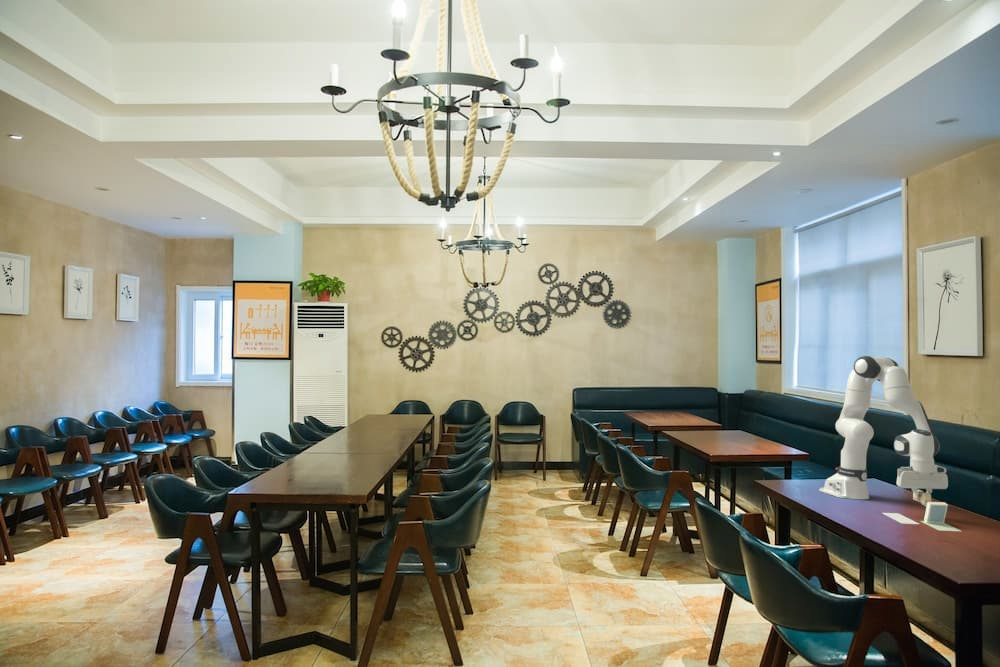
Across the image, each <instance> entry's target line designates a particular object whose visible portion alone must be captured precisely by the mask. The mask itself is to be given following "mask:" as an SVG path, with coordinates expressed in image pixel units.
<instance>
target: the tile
mask: <svg viewBox="0 0 1000 667" xmlns="http://www.w3.org/2000/svg"><path fill="white" fill-rule="evenodd" d="M948 506H949V504H947V503H946V502H944V501H943V502H938V501H931V502H927V507H926V506H925V507H926V508H925V514H924V518H923V521H925V522H926V523H934V524H944V523H945V521H946V515H947V512H948Z"/></svg>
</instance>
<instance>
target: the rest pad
mask: <svg viewBox="0 0 1000 667" xmlns="http://www.w3.org/2000/svg"><path fill="white" fill-rule="evenodd" d="M882 514H883V515H885V516H886V517H888V518H890V519H892V520H894V521H896V522H898V523H900V524H901V525H920V524H921V523H919V522H916V521H915V520H913V519H911V518H909V517H907V516H904V515H902V514H901V513H897V512H895V513H894V512H882Z"/></svg>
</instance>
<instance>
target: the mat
mask: <svg viewBox="0 0 1000 667" xmlns="http://www.w3.org/2000/svg"><path fill="white" fill-rule="evenodd" d="M920 522H921V523H923V524H925V525H927V526H929V527H931V528H933V529H935V530H937V531H942V532H943V531H944V532H947V531H948V532H961V530H960V529H958V528H956V527H954V526H952V525H950V524H947V523H945V522H944V524H934V523H926V522H925V521H924V520H920Z"/></svg>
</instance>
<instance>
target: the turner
mask: <svg viewBox="0 0 1000 667" xmlns="http://www.w3.org/2000/svg"><path fill="white" fill-rule="evenodd" d="M926 492H927V491H926ZM926 492H925V491H923V490H921V489H918V491H917V493H918V494H919V495H920V499H917V498H915V497H914V493H913V492H912V500H914V501H916V502H918V503H920V504H921V505H922V506H924V507H927V502H932V494H928V493H926Z"/></svg>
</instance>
